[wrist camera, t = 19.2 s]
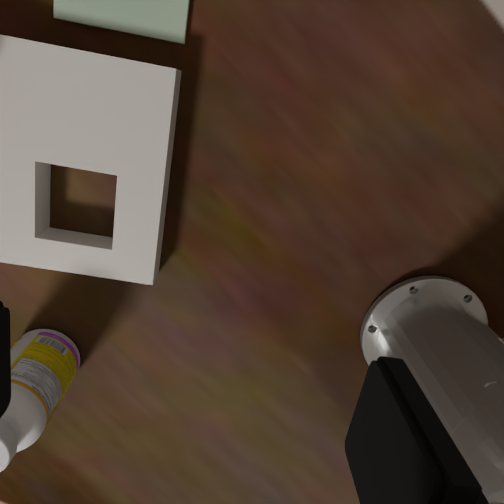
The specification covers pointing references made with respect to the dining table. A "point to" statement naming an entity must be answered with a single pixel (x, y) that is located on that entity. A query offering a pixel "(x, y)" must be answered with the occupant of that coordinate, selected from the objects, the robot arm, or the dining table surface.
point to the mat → (130, 16)
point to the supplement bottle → (35, 387)
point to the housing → (84, 155)
